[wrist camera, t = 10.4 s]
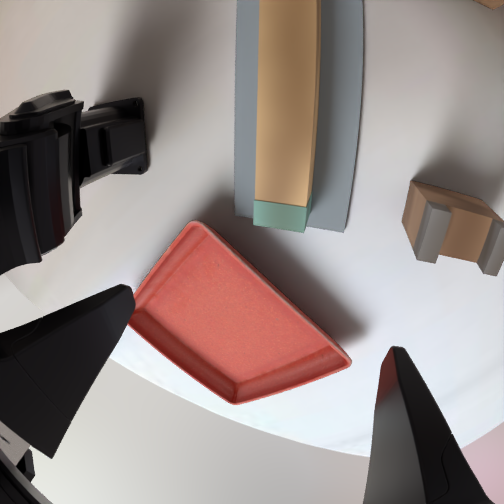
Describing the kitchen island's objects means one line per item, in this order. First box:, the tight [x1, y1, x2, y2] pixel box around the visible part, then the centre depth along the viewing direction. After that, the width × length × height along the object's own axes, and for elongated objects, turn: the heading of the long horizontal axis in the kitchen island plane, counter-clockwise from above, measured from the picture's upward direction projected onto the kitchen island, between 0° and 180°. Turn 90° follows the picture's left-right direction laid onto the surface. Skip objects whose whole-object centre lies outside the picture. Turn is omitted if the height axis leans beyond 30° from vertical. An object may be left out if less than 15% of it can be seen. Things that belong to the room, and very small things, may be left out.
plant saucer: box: [127, 220, 352, 405], centre depth 26 cm, size 18×18×3 cm
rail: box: [253, 0, 321, 233], centre depth 12 cm, size 3×22×3 cm, turn 179°
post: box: [402, 181, 504, 276], centre depth 14 cm, size 6×3×5 cm, turn 89°
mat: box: [234, 0, 363, 233], centre depth 14 cm, size 8×24×1 cm, turn 179°
